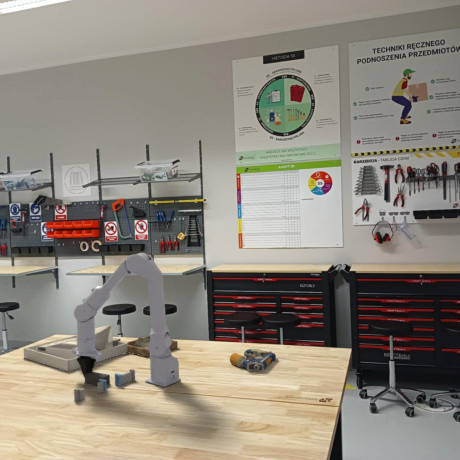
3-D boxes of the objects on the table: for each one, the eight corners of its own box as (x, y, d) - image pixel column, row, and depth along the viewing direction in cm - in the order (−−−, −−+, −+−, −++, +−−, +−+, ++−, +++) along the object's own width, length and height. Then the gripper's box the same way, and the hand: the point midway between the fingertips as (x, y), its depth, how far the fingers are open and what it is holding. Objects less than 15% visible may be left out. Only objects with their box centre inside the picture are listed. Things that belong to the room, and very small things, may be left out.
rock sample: (144, 347, 181) (143, 329, 187) (133, 357, 184) (133, 339, 190) (165, 354, 186) (163, 336, 193) (154, 363, 189) (153, 346, 196)
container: (35, 358, 179) (35, 328, 180) (81, 347, 201) (81, 320, 202) (77, 364, 169) (77, 332, 170) (120, 351, 192) (120, 323, 193)
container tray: (128, 352, 187) (127, 343, 187) (67, 371, 165) (67, 360, 165) (83, 342, 206) (83, 333, 206) (23, 357, 184) (23, 348, 184)
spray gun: (222, 369, 162) (261, 375, 156) (222, 358, 162) (261, 363, 156) (243, 355, 182) (279, 359, 176) (243, 344, 182) (279, 348, 176)
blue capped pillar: (136, 380, 154) (135, 369, 154) (78, 402, 136) (78, 390, 136) (131, 378, 155) (130, 368, 155) (73, 400, 137) (73, 388, 137)
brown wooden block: (177, 348, 192) (177, 341, 192) (149, 357, 179) (149, 350, 179) (150, 342, 203) (149, 335, 203) (121, 351, 190) (121, 344, 190)
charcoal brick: (109, 384, 151) (109, 374, 151) (102, 387, 148) (102, 377, 148) (92, 380, 155) (92, 371, 155) (84, 384, 152) (84, 374, 152)
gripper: (63, 337, 156) (65, 376, 156) (89, 343, 147) (90, 385, 147) (81, 333, 161) (82, 371, 161) (106, 338, 152) (108, 378, 153)
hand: (87, 377), depth 155 cm, fingers closed
